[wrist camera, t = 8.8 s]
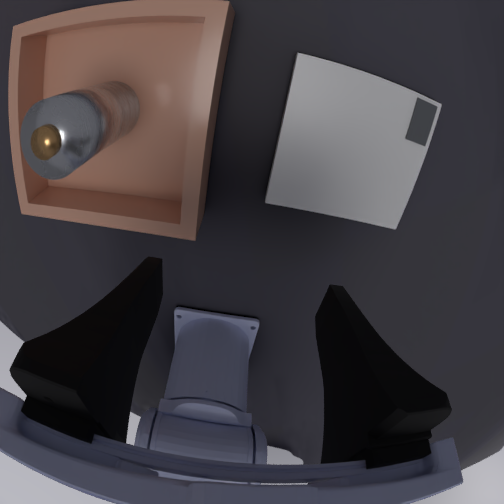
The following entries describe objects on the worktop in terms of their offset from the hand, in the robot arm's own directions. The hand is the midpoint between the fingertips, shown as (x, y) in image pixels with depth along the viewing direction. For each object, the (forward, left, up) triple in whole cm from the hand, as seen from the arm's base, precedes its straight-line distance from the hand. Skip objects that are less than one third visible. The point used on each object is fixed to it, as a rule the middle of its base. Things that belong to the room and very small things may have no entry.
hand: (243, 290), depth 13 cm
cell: (+5, +10, -9) cm, 14 cm away
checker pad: (+5, -6, -9) cm, 12 cm away
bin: (+5, +10, -9) cm, 15 cm away
